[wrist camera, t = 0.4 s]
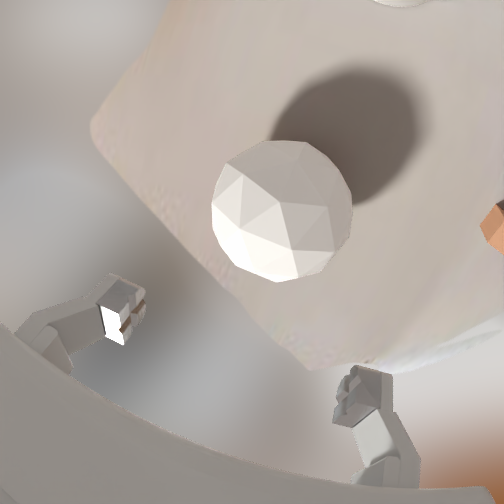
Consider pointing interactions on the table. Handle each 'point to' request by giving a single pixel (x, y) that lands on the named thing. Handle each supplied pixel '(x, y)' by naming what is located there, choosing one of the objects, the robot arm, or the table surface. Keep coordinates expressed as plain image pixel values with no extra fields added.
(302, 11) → the table surface
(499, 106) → the table surface
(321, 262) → the polyhedron
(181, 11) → the table surface
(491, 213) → the cube
